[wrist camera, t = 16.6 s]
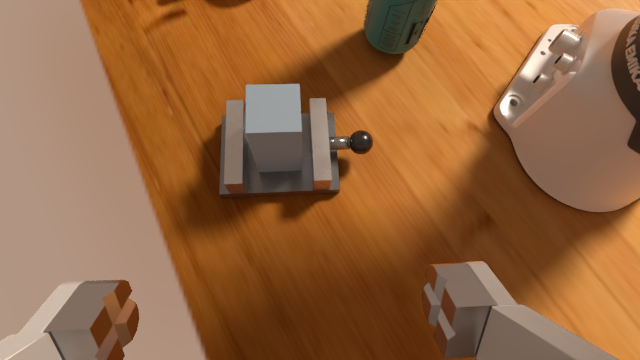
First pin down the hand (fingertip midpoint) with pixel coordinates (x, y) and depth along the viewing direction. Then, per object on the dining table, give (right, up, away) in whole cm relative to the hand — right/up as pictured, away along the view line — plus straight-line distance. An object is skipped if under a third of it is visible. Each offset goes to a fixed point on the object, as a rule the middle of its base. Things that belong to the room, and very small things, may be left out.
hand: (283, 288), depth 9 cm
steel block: (-3, +6, +23) cm, 24 cm away
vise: (-3, +5, +24) cm, 25 cm away
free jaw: (+3, +6, +23) cm, 24 cm away
